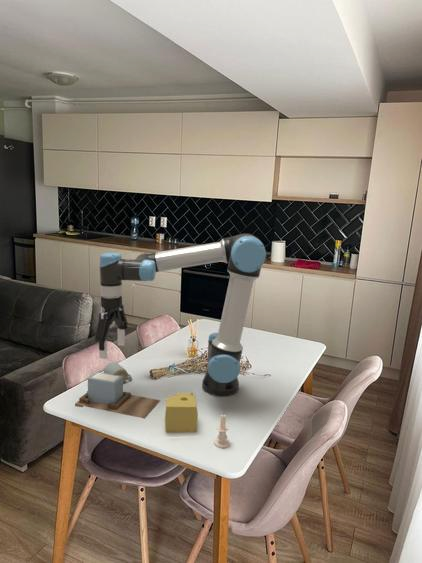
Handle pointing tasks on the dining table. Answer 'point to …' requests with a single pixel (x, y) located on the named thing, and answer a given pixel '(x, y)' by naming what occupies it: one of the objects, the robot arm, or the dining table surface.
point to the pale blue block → (105, 388)
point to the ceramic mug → (117, 371)
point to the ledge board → (123, 405)
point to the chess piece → (222, 434)
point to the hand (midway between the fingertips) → (112, 351)
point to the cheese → (181, 413)
